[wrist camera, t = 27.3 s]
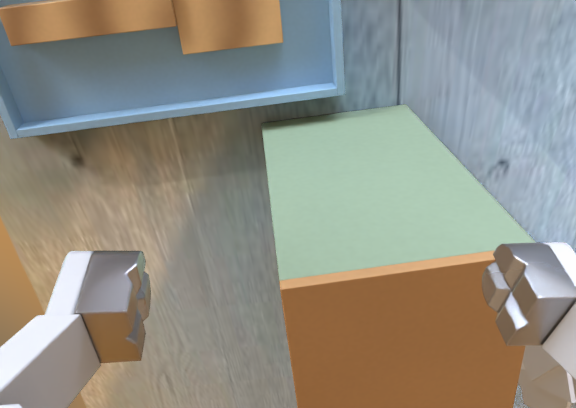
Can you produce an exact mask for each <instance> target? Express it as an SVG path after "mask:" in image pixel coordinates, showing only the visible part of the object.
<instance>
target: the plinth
mask: <svg viewBox="0 0 576 408" xmlns="http://www.w3.org/2000/svg"><path fill="white" fill-rule="evenodd" d="M261 125H262V134H263V143H264V152H265V160H266V169H267V178H268V187H269V196H270V204H271V213H272V222H273V231H274V240H275V248H276V257H277V266H278V275H279V284H280V292H281V298H282V305H283V312H284V319H285V325H286V332H287V339H288V345H289V352H290V359H291V366H292V372H293V379H294V386H295V393H296V399H297V406H298V408H513V404H514V399H515V394H516V389H517V384H518V380H519V375H520V370H521V365H522V360H523V356H524V351H525V346H506V344H505V342H504V339H503V337H502V335H501V333H500V331H499V329H498V327H497V325H496V322H495V319H496V316H497V312H496V311H494V310H493V309H492V308H491V307H489V306H488V305H487V303H486V301H485V298H484V296H483V292H482V275H483V273H484V271H485V269H486V267H487V266H488V265H490V264H491V263H493V262H494V261H496V260H495V258H494V256H493V253H494V251H495V250H496V248H497V247H498V246H499V245H501V244H507V243H536V242H535V241H534V240H533V239H532V238H531V237H530V236H529V235H528V234H527V232H526V231H525V230H524V229H523V228H522V227H521V226H520V225H519V224H518V223H517V222H516V221H515V220H514V219H513V218H512V217H511V216H510V214H509V213H508V212H507V211H506V210H505V209H504V208H503V207H502V206H501V205H500V204H499V203H498V202H497V201H496V200H495V199H494V197H493V196H492V195H491V194H490V193H489V192H488V191H487V190H486V189H485V188H484V187H483V186H482V185H481V184H480V183H479V182H478V181H477V179H476V178H475V177H474V176H473V175H472V174H471V173H470V172H469V171H468V170H467V169H466V168H465V167H464V166H463V165H462V164H461V162H460V161H459V160H458V159H457V158H456V157H455V156H454V155H453V154H452V153H451V152H450V151H449V150H448V149H447V148H446V147H445V145H444V144H443V143H442V142H441V141H440V140H439V139H438V138H437V137H436V136H435V135H434V134H433V133H432V132H431V131H430V130H429V129H428V127H427V126H426V125H425V124H424V123H423V122H422V121H421V120H420V119H419V118H418V117H417V116H416V115H415V114H414V113H413V112H412V110H411V109H410V108H409V107H408V106H407V105H406V104H403V105H396V106H388V107H381V108H373V109H366V110H358V111H351V112H343V113H336V114H328V115H321V116H313V117H306V118H298V119H291V120H283V121H275V122H268V123H262V124H261Z"/></svg>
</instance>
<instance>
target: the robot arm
mask: <svg viewBox="0 0 576 408" xmlns="http://www.w3.org/2000/svg"><path fill="white" fill-rule="evenodd" d="M493 256H494V258H495V260H496V261H494V262H493V263H491V264H490V265H488V266H487V267H486V269H485V271H484V273H483V275H482V292H483V296H484V298H485V301H486V303H487V305H488V306H489V307H491V308H492V309H493V310H494V311H496V312H497V316H496V319H495V322H496V325H497V327H498V329H499V331H500V333H501V335H502V337H503V339H504V342H505V344H506V346H538V345H542V346H541V348H542V349H543V350H544V351H545V352H547V353H548V354H549V355H550V356H551V357H552V358H553V359H554V360H555V361H556V362H557V363H558V364H559V365H560V366H561V367H563V368H564V369H565V370H566V371H567V372H568V373H569V374H570V375H571V376H572V377H573V378H574V379H575V380H576V253H575V252H574V251H573V249H572V248H571V246H569V245H568V244H567V243H565V242H549V243H540V242H539V243H507V244H501V245H499V246H498V247H497V248H496V250H495V251H494V253H493ZM145 262H146V261H145V257H144V254H143V252H142V251H70V252H69V253H68V254H67V255H66V257H65V259H64V262H63V264H62V267H61V270H60V273H59V276H58V278H57V281H56V284H55V287H54V290H53V293H52V295H51V298H50V301H49V304H48V307H47V309H46V312H45V315H37V316H36V317H35V318H34V319H32V320H31V321H30V322H29V323H28V324H27V325H26V326H24V327H23V328H22V329H21V330H20V331H19V332H17V334H15V335H14V336H13V337H12V338H11V339H9V340H8V341H7V342H6V343H5V344H4V345H3V346H1V347H0V408H68V406H69V405H70V404H71V402H72V401H73V400H74V399H75V398H76V396H77V395H78V394H79V392H80V391H81V390H82V389H83V387H84V386H85V385H86V384H87V382H88V381H89V380H90V379H91V377H92V376H93V375H94V374H95V372H96V371H97V370H98V369H99V367H100V366H101V364H100V363H111V362H126V361H141V358H142V352H143V346H144V340H145V334H146V333H145V329H144V324H143V321H144V320H145V319H146V318H147V317H148V316H149V309H150V297H151V288H150V280H149V275H148V274H147V273H145V272H144V268H145Z"/></svg>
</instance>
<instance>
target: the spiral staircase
mask: <svg viewBox="0 0 576 408" xmlns="http://www.w3.org/2000/svg"><path fill="white" fill-rule="evenodd" d="M541 346H542V345H538V346H525V351H524V356H523V360H522V365H521V370H520V375H519V380H518V384H519V386H520V387H521V389H522V395H523V402H524V404H525V405H527V406H529V407H530V408H570V407H571V403H576V380H575V379H574V378H573V377H572V376H571V375H570V374H569V373H568V372H567V371H566V370H565V369H564V368H563V367H561V366H560V365H559V364H558V363H557V362H556V361H555V360H554V359H553V358H552V357H551V356H550V355H549V354H548V353H547V352H545V351H544V350H543V349H542V348H541Z"/></svg>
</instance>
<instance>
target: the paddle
mask: <svg viewBox="0 0 576 408" xmlns="http://www.w3.org/2000/svg"><path fill="white" fill-rule="evenodd" d="M0 18H1V21H2V23H3V26H4V29H5V31H6V34H7V36H8V39H9V42H10V44H11V46H17V45H26V44H34V43H43V42H51V41H59V40H68V39H76V38H85V37H93V36H101V35H110V34H118V33H127V32H135V31H143V30H152V29H160V28H169V27H176V26H177V27H178V31H179V36H180V41H181V46H182V51H183V54H184V55H185V54H193V53H202V52H210V51H218V50H227V49H235V48H243V47H251V46H260V45H268V44H276V43H283V32H282V22H281V12H280V2H279V0H46V1H37V2H28V3H20V4H11V5H6V6H3V7H0Z"/></svg>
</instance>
